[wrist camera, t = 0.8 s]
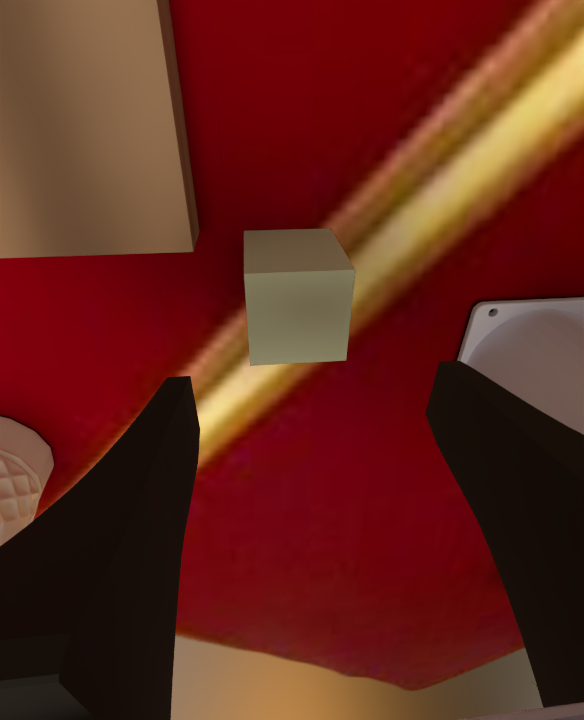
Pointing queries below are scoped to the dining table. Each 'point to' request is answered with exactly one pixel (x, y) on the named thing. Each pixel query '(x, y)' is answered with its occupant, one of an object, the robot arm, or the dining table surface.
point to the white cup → (21, 475)
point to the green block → (297, 296)
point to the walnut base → (92, 131)
